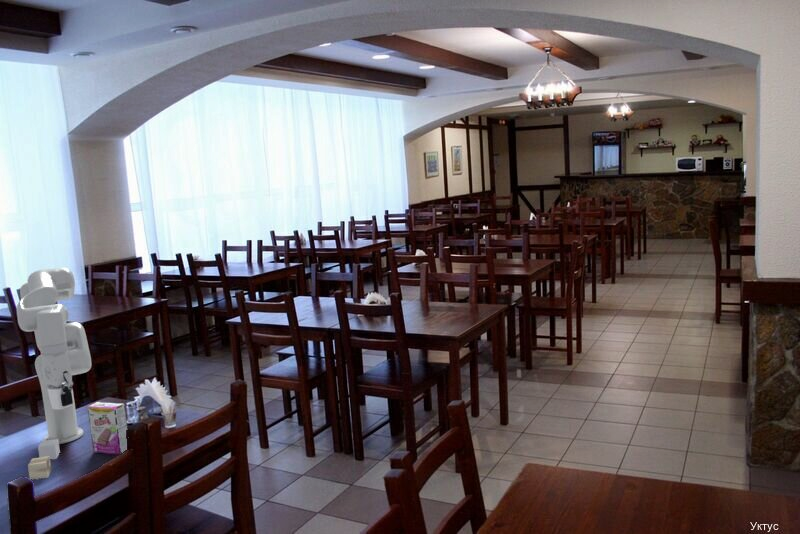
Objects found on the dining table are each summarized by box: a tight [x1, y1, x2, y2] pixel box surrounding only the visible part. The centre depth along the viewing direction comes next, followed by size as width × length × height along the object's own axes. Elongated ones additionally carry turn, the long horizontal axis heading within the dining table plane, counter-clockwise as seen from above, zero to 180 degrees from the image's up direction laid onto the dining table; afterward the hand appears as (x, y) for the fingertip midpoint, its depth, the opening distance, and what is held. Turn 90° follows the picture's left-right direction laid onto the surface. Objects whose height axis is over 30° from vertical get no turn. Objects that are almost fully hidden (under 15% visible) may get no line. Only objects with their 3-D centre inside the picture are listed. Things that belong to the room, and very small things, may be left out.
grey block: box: [37, 439, 61, 460], centre depth 221 cm, size 5×5×5 cm
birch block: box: [27, 456, 52, 481], centre depth 207 cm, size 5×5×5 cm
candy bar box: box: [87, 401, 128, 456], centre depth 221 cm, size 11×5×16 cm, turn 74°
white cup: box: [47, 382, 72, 410], centre depth 211 cm, size 7×7×7 cm
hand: (61, 402), depth 211 cm, fingers closed on white cup, 6 cm apart
